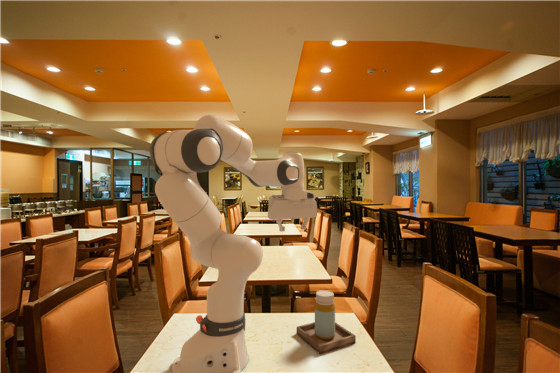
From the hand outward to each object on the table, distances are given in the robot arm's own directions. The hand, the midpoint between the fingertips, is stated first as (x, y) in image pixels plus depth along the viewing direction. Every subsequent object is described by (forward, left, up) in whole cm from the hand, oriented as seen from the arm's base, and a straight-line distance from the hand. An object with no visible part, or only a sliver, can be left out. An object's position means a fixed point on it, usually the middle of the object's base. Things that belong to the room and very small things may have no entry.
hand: (292, 230), depth 116 cm
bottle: (+4, -15, -35) cm, 39 cm away
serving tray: (+4, -15, -36) cm, 39 cm away
